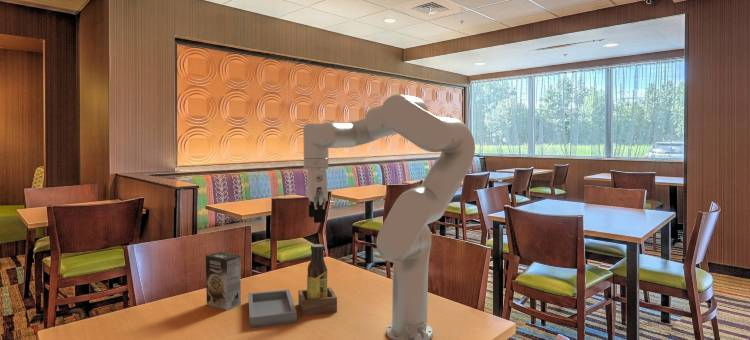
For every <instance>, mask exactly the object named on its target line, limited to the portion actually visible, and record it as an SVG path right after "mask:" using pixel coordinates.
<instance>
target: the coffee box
mask: <svg viewBox="0 0 750 340" xmlns="http://www.w3.org/2000/svg"><path fill="white" fill-rule="evenodd" d="M241 256H242V255H241V254H235V253H229V252H225V251H224V252H223V251H218V252H214V253H210V254H206V255H205V277H206V279H205V281H206V282H205V284H206V286H205V287H206V291H205V292H206V306H209V307H212V308H216V309H220V310H223V311H230V310H231V309H233V308H235V307H238V306H240V305H241V304H242V301H241V299H242V297H241V296H242V290H241V289H242V286H241V284H242V283H241V279H242V278H241V277H242V275H241V269H242V267H241V266H242V265H241V262H242V261H241Z"/></svg>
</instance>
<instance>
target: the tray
mask: <svg viewBox="0 0 750 340" xmlns="http://www.w3.org/2000/svg"><path fill="white" fill-rule="evenodd" d="M247 296H248V301H247V302H248V318H249V329H251V328H253V329H255V328H260V327H270V326H279V325H280V326H281V325H287V324H288V325H289V324H294V323H295V324H296V323H298V314H297V313H298V312H297V309H296V307H295V303H294V300H293V297H292V294H291V291H290V288H289V289H278V290H268V291H258V292H248V295H247Z"/></svg>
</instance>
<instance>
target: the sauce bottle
mask: <svg viewBox="0 0 750 340" xmlns="http://www.w3.org/2000/svg"><path fill="white" fill-rule="evenodd" d="M310 250H311V254H310V255H311V257H310V262H308V263H309V264H308V265H307V276H306V283H307V284H306V290H307V299H317V298H326V297H327V288H328V268H327V265H326V261H325V259H324V258H325V257H324V251H325V245H324V244H322V243H321V244H320V243H315V244H311V245H310Z"/></svg>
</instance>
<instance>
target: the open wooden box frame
mask: <svg viewBox="0 0 750 340" xmlns="http://www.w3.org/2000/svg"><path fill="white" fill-rule="evenodd" d="M298 307H299V310H300V312H301V316H302V317H305V316H313V315H314V316H315V315H321V314H330V313H331V314H332V313H337V312H338V297H337V295H336V294H335V292H334V290H333V289H332V287H327V297H326V298H317V299H307V289H302V290H300V289H299V290H298Z"/></svg>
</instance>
